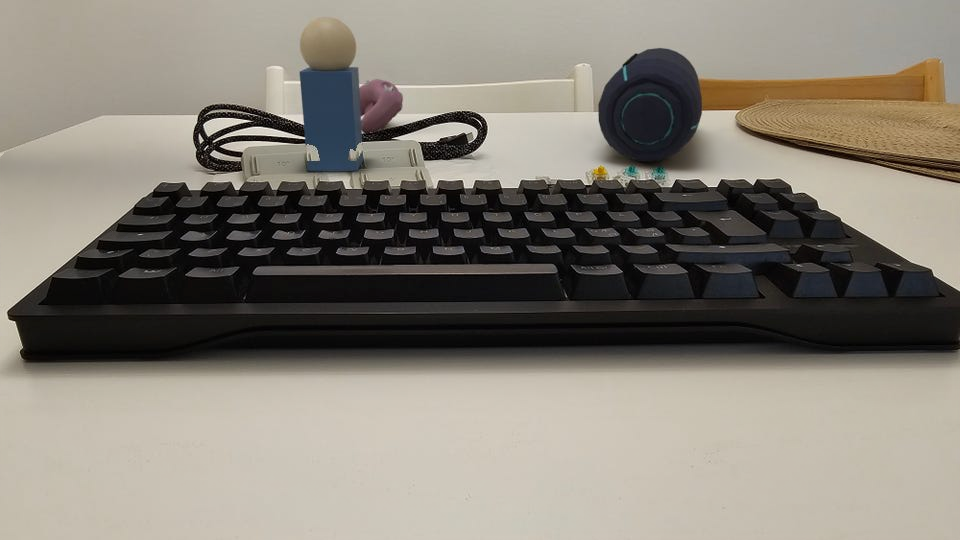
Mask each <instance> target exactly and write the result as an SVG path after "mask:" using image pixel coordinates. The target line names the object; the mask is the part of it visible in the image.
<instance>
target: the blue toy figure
mask: <svg viewBox="0 0 960 540" xmlns="http://www.w3.org/2000/svg"><path fill="white" fill-rule="evenodd" d="M299 49H300V54H301V57H302V58H303V60H304V62H305V63H306V64H307V66H308V67H306V68H305V69H302V70H300V71H299V81H300V94H301V107H302V119H303V131H304V141H305V143H304V144H305V146H306V145H307V144H309V145H313V146H315V147H316V148H317V150H318V154H319V158H320V161H307V160H306V166H307V168H306V169H307V172H358V171H359V168H360V167H361V165H362V164H363V162H364V151H362V153H361V154H360V156H359V158H358V159H357V161H349V160H348V157H349V151H350V149H353V150H354V151H356V148H357V145H358V144H359V143H361V142H362V143H363V131H362V128H361V120H362V116H361V110H360V91H359V88H360V77H359V76H360V74H359V67H358V66H351V65H352V64H353V62H354V60H355V58H356V55H357V42H356V38H355V35H354V34H353V32H352V30H351V29H350V28H349V26H348V25H347V24H346V23H345V22H343V21H342V20H340V19H338V18H334V17H332V16H331V17H330V16H321V17H318V18H315V19H313V20H311V21H310V22H309V23H308V24H306V26H305V27H304V29H303V30H302V31H301V35H300V39H299Z"/></svg>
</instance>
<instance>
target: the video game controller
mask: <svg viewBox="0 0 960 540" xmlns="http://www.w3.org/2000/svg"><path fill="white" fill-rule="evenodd" d="M359 91H360V110H361V128H362V133H364V134H366V133H370V132H374V133H376V131H377V132H379V131H381V130H383V129H385V128H386V126H387V125H388V124H389V123H390V122H391V121H392V120H393V118H395V117H397V115H398V113H400V112H401V111H402V110H403V101H404V95H403V93H402V92H400V91H399V89H398V88H397V86H396V85H395V84H394V83H392V82H390V81H387V80H384V79H379V78H375V79H372V80H368V79H367V80H366V81H365V83H364V84H362V85H361V86H359ZM370 134H371V133H370Z"/></svg>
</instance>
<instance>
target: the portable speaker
mask: <svg viewBox="0 0 960 540" xmlns="http://www.w3.org/2000/svg"><path fill="white" fill-rule="evenodd" d="M702 99H703V98H702V92H701V86H700V81H699V77H698V74H697V71H696V68H695V67H694V66H693V64H692V62H691V61H690V60H689V59H688V58H687V57H686V56H684V55H683V54H681V53H680V52H678V51H676V50H673V49H670V48H665V47H664V48H663V47H657V48H656V47H654V48H648V49H646V50H643V51H641V52H640V53H634V54H633V55H631V56H630V57H629V58H628V59H627V60H626V61H625V62H623V63H622V66H621V67H620V68H619V70H617V71H616V72H615V73H614V74H613V75H612V76H611V77H610V78H609V80H608V82H606V83H605V85H604V88H603V91H602V93H601V96H600V99H599V102H598V105H597V107H598V110H597V111H598V124H599V129H600V131H601V134H602V136H603V139H605V141H606V143H608V145H609V146H610V147H611V148H612V149H613V150H615V151H616V152H617V153H618V154H620V155H621V156H623V157H626V158H629V159H632V160H634V161H638V162H647V163H648V162H652V163H654V162H658V161H663V160H665V159H668V158H670V157H673V156H674V155H676V154H677V153H679V152H680V151H681V150H682V149H683V148H684V147H685V146H686V145H688V144H689V143H690V142H691V140H692V139H693V137H694V136H695V135H696V133H697V131H698V127H699V125H700V121H701V118H702V115H703V100H702Z"/></svg>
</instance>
